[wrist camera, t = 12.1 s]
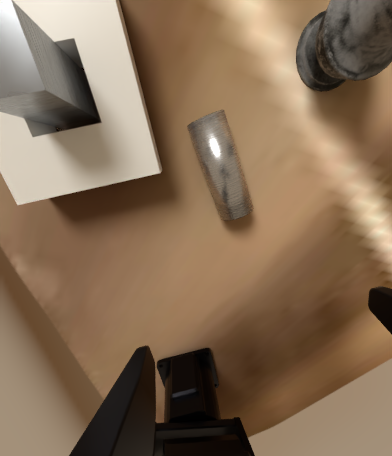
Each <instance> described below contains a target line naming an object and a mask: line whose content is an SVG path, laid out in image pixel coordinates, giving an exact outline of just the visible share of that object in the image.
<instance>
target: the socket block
mask: <svg viewBox="0 0 392 456" xmlns="http://www.w3.org/2000/svg"><path fill="white" fill-rule="evenodd" d="M13 1H14V2H15V3H16V4H17V5H18V6H19V7H20V8H21V9H22V10H23V11H24V12H25V13H26V14H27V15H28V16H29V17H30V18H31V19H32V20H33V21H34V22H35V23H36V24H37V25H38V26H39V27H40V28H41V29H42V30H43V31H44V32H45V33H46V34H47V35H48V36H49V37H50V38H51V39H52V40H53V41H54V42H55V43H56V44H57V45H58V46H59V47H60V48H61V49H62V50H63V51H64V52H65V53H66V54H67V55H68V56H69V57H70V58H71V59H72V60H73V61H74V62H75V63H76V64H77V65H78V66H79V67H80V68H82V67H84V70H85V73H86V76H87V79H88V82H89V85H90V88H91V91H92V94H93V98H94V101H95V104H96V107H97V110H98V113H99V116H100V119H101V122H102V123H98V124H93V125H88V126H83V127H79V128H74V129H69V130H65V131H60V132H57V131H56V128H55V127H53V126H50V125H46V124H43V123H39V122H35V121H32V120H28V119H25V118H21V117H17V116H14V115H10V114H7V113H3V112H0V172H1V174H2V176H3V178H4V180H5V182H6V184H7V185H8V187H9V189H10V191H11V193H12V195H13V197H14V199H15V201H16V203H17V205H20V204H25V203H29V202H34V201H38V200H43V199H47V198H52V197H56V196H61V195H65V194H69V193H74V192H78V191H83V190H87V189H92V188H96V187H101V186H105V185H110V184H114V183H119V182H123V181H128V180H132V179H137V178H141V177H145V176H150V175H154V174H159V173H161V172H162V167H161V163H160V159H159V155H158V151H157V147H156V143H155V139H154V135H153V131H152V127H151V123H150V119H149V116H148V112H147V108H146V104H145V100H144V96H143V92H142V88H141V84H140V80H139V76H138V72H137V68H136V64H135V61H134V57H133V53H132V49H131V45H130V41H129V37H128V33H127V29H126V25H125V21H124V17H123V13H122V10H121V6H120V2H119V0H13Z"/></svg>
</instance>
